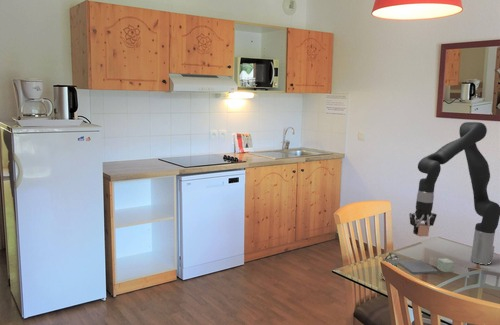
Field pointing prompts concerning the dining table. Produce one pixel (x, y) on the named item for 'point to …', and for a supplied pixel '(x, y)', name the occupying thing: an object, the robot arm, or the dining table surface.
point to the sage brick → (445, 265)
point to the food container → (392, 259)
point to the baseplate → (417, 267)
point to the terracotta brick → (423, 230)
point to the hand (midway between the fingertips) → (420, 233)
